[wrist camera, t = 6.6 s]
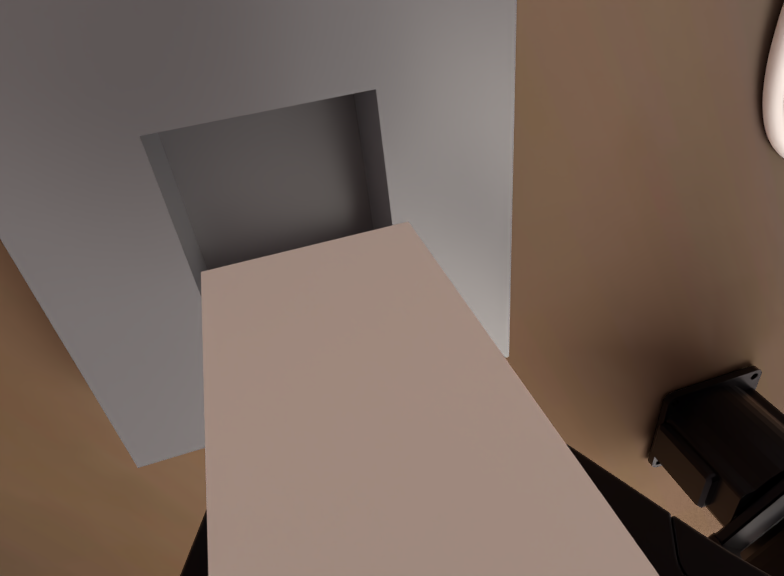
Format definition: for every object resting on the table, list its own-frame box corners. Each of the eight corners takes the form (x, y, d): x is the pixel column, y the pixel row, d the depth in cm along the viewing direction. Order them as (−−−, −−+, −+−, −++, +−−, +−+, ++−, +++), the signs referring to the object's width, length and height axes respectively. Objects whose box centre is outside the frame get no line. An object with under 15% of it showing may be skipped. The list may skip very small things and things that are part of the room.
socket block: (460, -113, 16) (519, -118, 13) (472, 306, 24) (509, 356, 22) (-86, -39, 13) (-159, -26, 10) (144, 397, 22) (137, 467, 19)
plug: (408, 221, 11) (717, 655, 4) (430, 435, 15) (615, 840, 8) (200, 272, 10) (216, 873, 4) (279, 483, 14) (354, 967, 7)
